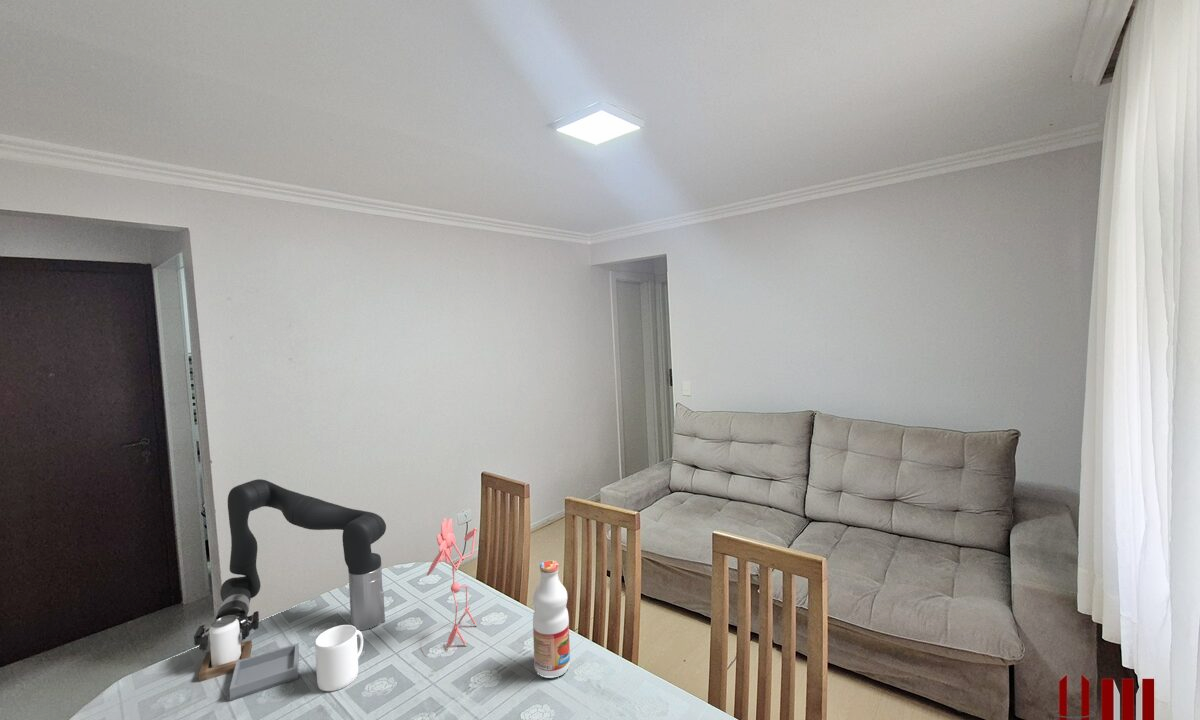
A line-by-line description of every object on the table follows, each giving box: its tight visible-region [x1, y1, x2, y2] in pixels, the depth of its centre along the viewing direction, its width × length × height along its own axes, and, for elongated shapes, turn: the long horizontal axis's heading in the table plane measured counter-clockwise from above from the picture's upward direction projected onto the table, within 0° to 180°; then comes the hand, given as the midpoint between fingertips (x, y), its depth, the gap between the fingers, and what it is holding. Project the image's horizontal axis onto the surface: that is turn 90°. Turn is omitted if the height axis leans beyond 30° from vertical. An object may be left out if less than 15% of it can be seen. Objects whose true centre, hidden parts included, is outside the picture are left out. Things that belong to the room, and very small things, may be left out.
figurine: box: [426, 517, 478, 649], centre depth 140 cm, size 15×26×35 cm, turn 176°
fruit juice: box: [532, 559, 571, 676], centre depth 126 cm, size 9×9×28 cm
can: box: [208, 615, 242, 668], centre depth 131 cm, size 6×6×12 cm
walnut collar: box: [198, 639, 253, 683], centre depth 131 cm, size 10×10×2 cm
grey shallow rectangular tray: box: [229, 642, 300, 702], centre depth 126 cm, size 14×12×3 cm
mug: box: [314, 624, 364, 692], centre depth 125 cm, size 10×12×12 cm
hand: (224, 641), depth 129 cm, fingers open, 8 cm apart
